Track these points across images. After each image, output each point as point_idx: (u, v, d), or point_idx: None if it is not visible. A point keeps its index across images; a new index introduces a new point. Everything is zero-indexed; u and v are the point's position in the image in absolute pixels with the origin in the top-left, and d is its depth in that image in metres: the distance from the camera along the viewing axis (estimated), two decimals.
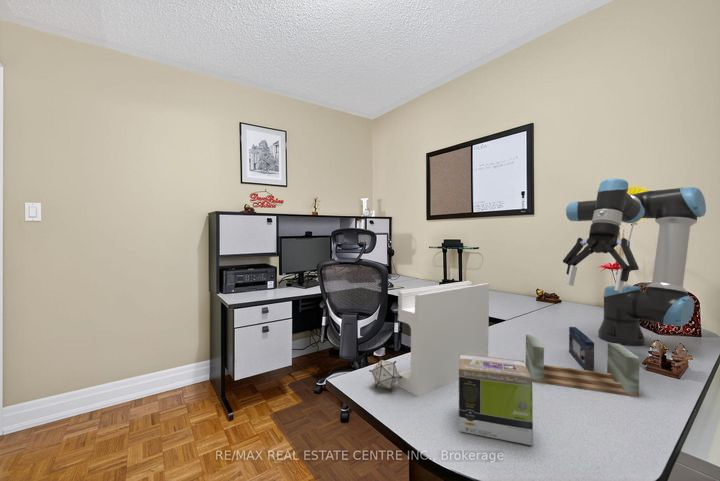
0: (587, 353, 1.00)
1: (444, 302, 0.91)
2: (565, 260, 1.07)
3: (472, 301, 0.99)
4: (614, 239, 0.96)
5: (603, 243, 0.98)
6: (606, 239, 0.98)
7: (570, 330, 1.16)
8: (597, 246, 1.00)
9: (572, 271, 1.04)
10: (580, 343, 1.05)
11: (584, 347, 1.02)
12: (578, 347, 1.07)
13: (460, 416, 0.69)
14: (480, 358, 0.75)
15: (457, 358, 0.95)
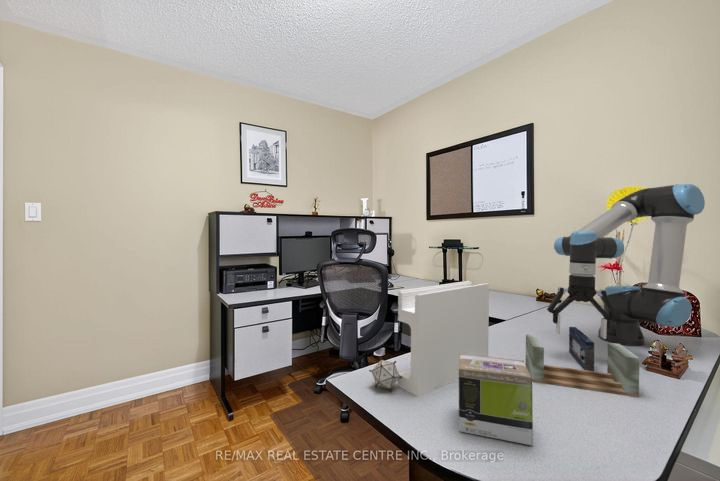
0: (587, 353, 1.00)
1: (444, 302, 0.91)
2: (551, 310, 1.10)
3: (472, 301, 0.99)
4: (595, 291, 1.06)
5: (588, 295, 1.06)
6: (588, 290, 1.07)
7: (570, 330, 1.16)
8: (580, 297, 1.08)
9: (559, 320, 1.10)
10: (580, 343, 1.05)
11: (584, 347, 1.02)
12: (578, 347, 1.07)
13: (460, 416, 0.69)
14: (479, 358, 0.75)
15: (457, 358, 0.95)
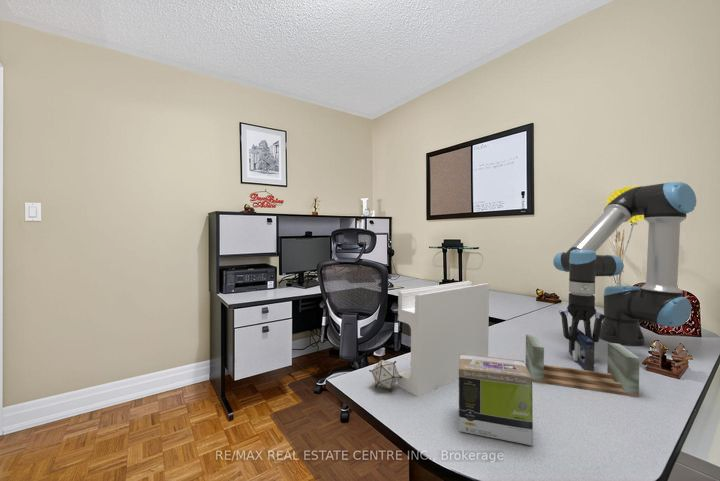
0: (587, 353, 1.00)
1: (444, 302, 0.91)
2: (567, 336, 1.09)
3: (472, 301, 0.99)
4: (595, 310, 1.06)
5: (587, 315, 1.06)
6: (588, 309, 1.07)
7: (570, 330, 1.16)
8: (580, 316, 1.08)
9: None
10: (580, 343, 1.05)
11: (584, 347, 1.02)
12: (578, 347, 1.07)
13: (460, 416, 0.69)
14: (479, 358, 0.75)
15: (457, 358, 0.95)
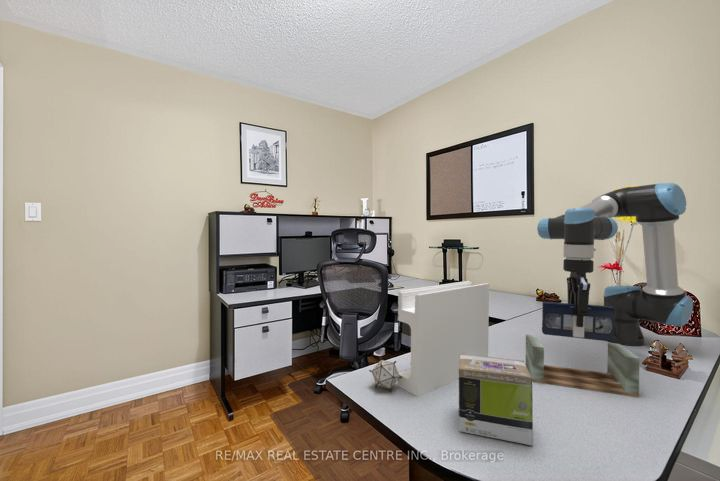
0: None
1: (444, 302, 0.91)
2: None
3: (472, 301, 0.99)
4: None
5: None
6: None
7: (550, 306, 0.96)
8: None
9: None
10: (594, 314, 0.92)
11: (610, 315, 0.91)
12: (585, 320, 0.93)
13: (460, 416, 0.69)
14: (479, 358, 0.75)
15: (457, 358, 0.95)
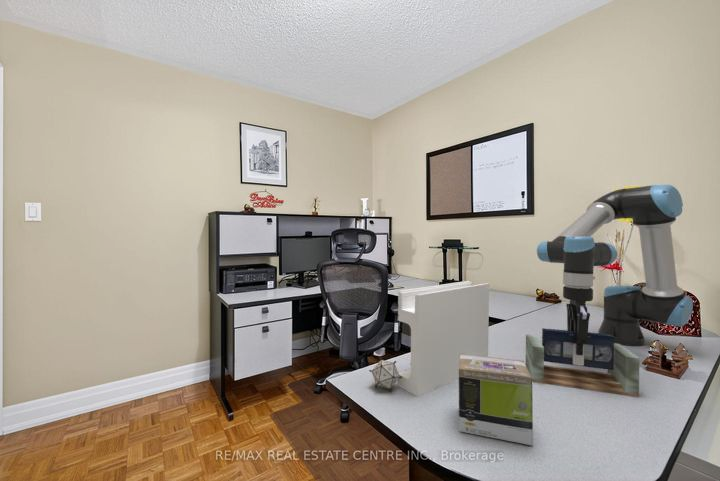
0: None
1: (444, 302, 0.91)
2: None
3: (472, 301, 0.99)
4: None
5: None
6: None
7: (550, 334, 0.96)
8: None
9: None
10: (594, 342, 0.92)
11: (609, 343, 0.91)
12: (585, 348, 0.93)
13: (460, 416, 0.69)
14: (479, 358, 0.75)
15: (457, 358, 0.95)
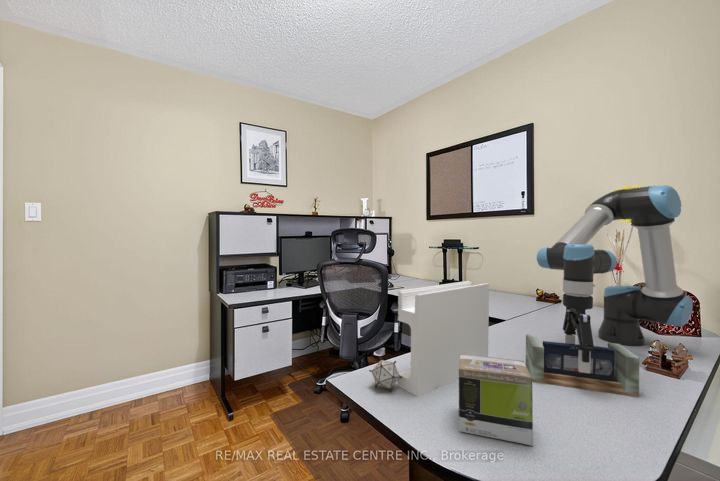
0: None
1: (444, 302, 0.91)
2: None
3: (472, 301, 0.99)
4: None
5: None
6: None
7: (550, 347, 0.96)
8: None
9: None
10: (594, 355, 0.92)
11: (610, 357, 0.91)
12: None
13: (460, 416, 0.69)
14: (479, 358, 0.75)
15: (457, 358, 0.95)
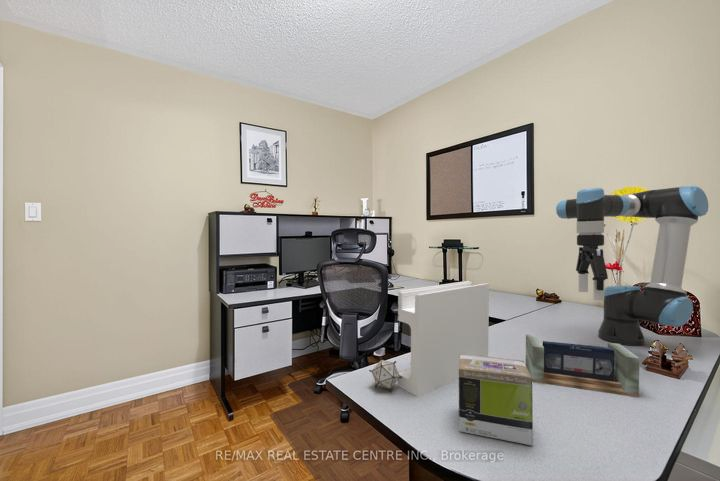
0: None
1: (444, 302, 0.91)
2: None
3: (472, 301, 0.99)
4: None
5: None
6: None
7: (550, 347, 0.96)
8: None
9: None
10: (594, 355, 0.92)
11: (609, 357, 0.91)
12: (585, 361, 0.93)
13: (460, 416, 0.69)
14: (479, 358, 0.75)
15: (457, 358, 0.95)
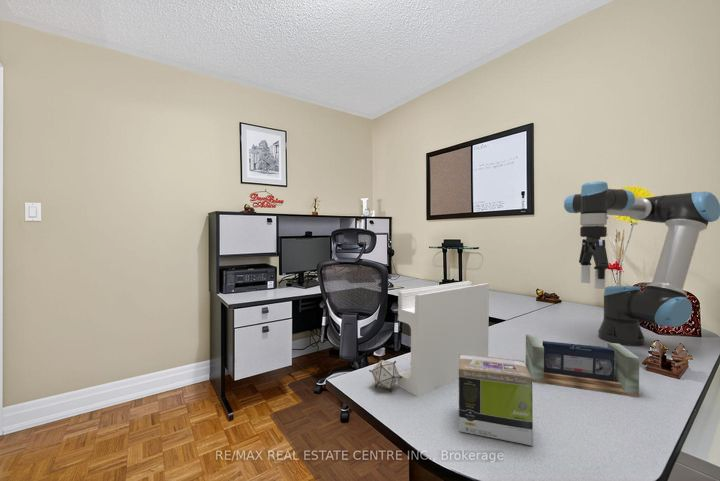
0: None
1: (444, 302, 0.91)
2: None
3: (472, 301, 0.99)
4: None
5: None
6: None
7: (550, 347, 0.96)
8: None
9: None
10: (594, 355, 0.92)
11: (609, 357, 0.91)
12: (585, 361, 0.93)
13: (460, 416, 0.69)
14: (479, 358, 0.75)
15: (457, 358, 0.95)
